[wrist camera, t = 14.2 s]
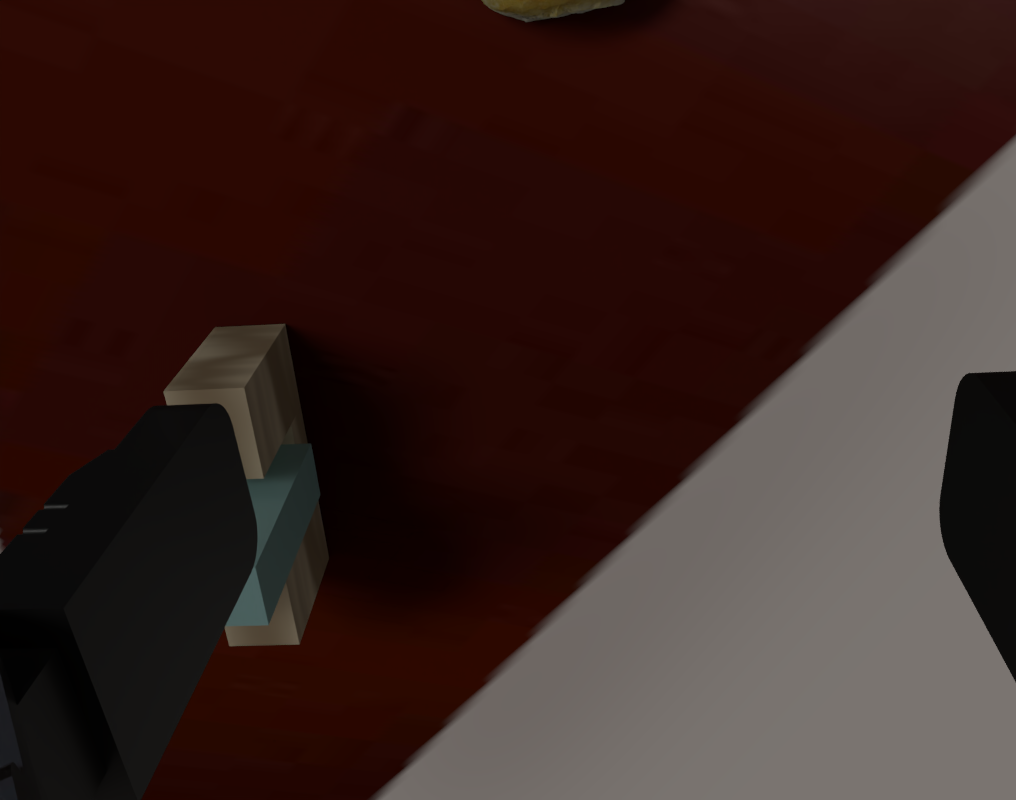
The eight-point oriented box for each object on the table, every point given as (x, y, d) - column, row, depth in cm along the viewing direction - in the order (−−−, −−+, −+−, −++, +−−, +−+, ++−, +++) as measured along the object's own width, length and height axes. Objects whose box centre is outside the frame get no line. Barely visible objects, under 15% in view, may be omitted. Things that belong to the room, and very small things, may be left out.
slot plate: (285, 323, 47) (244, 387, 40) (329, 557, 53) (299, 644, 47) (215, 327, 47) (163, 391, 41) (267, 559, 53) (229, 646, 47)
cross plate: (311, 443, 47) (255, 567, 38) (320, 494, 49) (268, 625, 40) (212, 447, 48) (134, 570, 39) (224, 497, 49) (151, 628, 40)
